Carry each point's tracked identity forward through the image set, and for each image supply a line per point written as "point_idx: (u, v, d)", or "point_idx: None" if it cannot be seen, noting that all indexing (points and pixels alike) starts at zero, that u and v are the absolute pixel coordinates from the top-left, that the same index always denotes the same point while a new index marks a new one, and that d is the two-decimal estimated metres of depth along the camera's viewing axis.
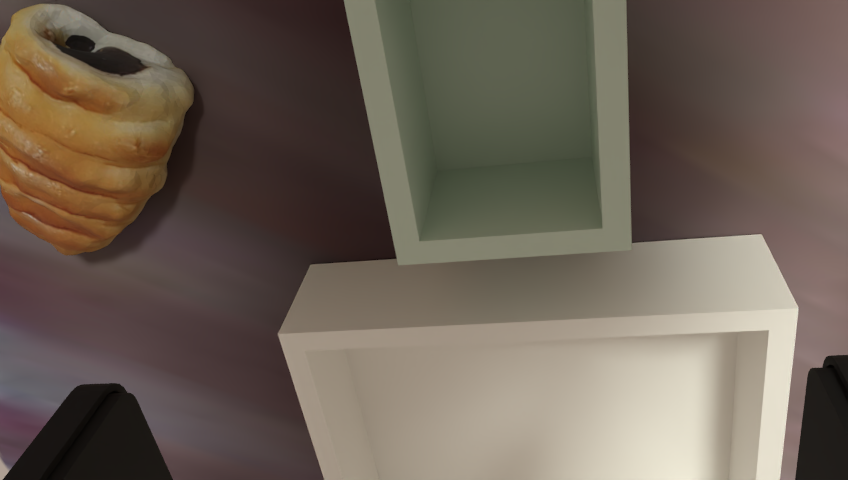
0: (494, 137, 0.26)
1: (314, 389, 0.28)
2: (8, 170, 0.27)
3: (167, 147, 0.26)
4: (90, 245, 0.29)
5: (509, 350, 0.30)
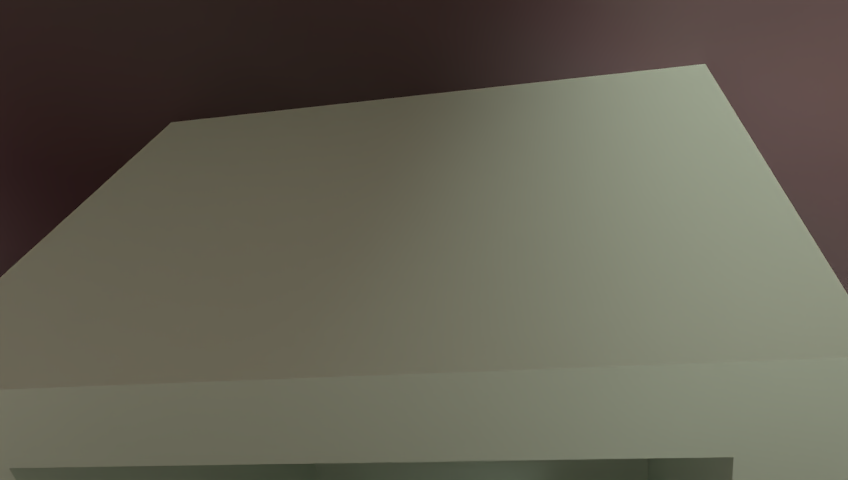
0: None
1: None
2: None
3: None
4: None
5: None
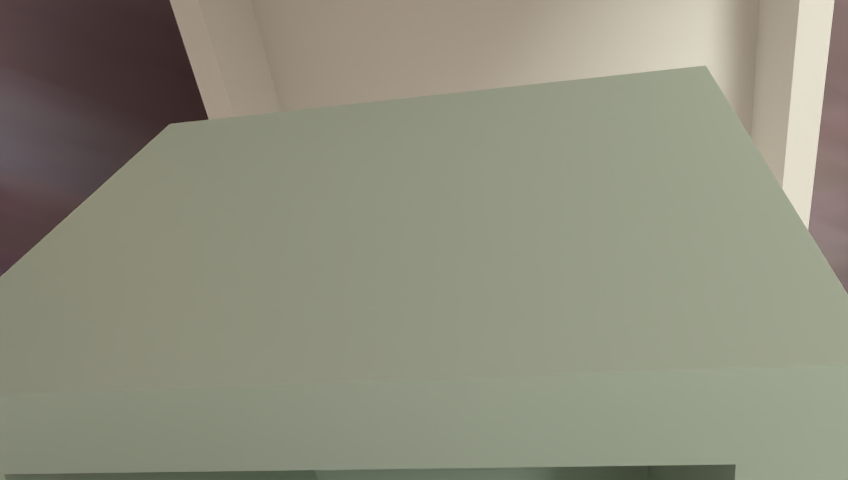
0: None
1: (198, 8, 0.21)
2: None
3: None
4: None
5: None
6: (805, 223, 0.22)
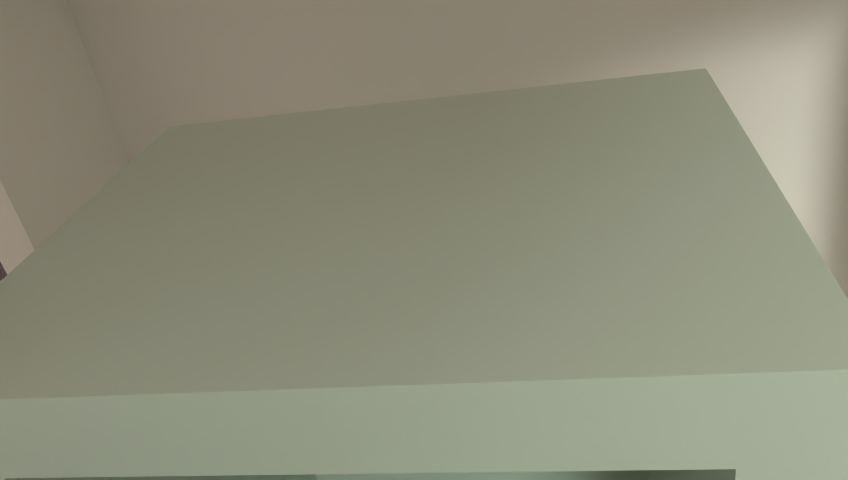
0: None
1: None
2: None
3: None
4: None
5: (416, 56, 0.15)
6: None
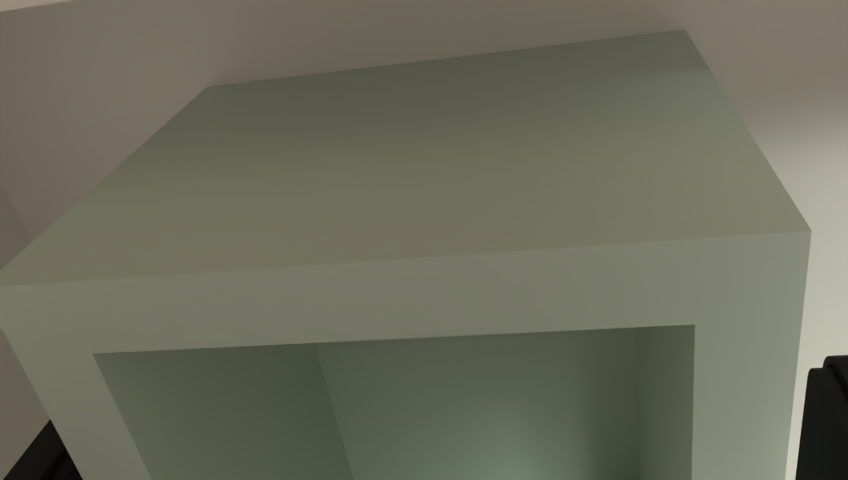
0: (457, 449, 0.14)
1: None
2: None
3: None
4: None
5: None
6: None
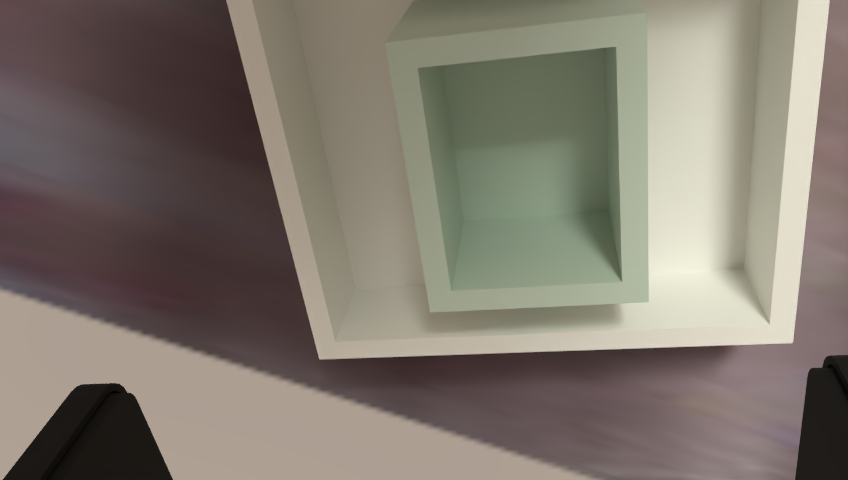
0: (518, 191, 0.28)
1: (258, 34, 0.23)
2: None
3: None
4: None
5: None
6: (801, 238, 0.24)
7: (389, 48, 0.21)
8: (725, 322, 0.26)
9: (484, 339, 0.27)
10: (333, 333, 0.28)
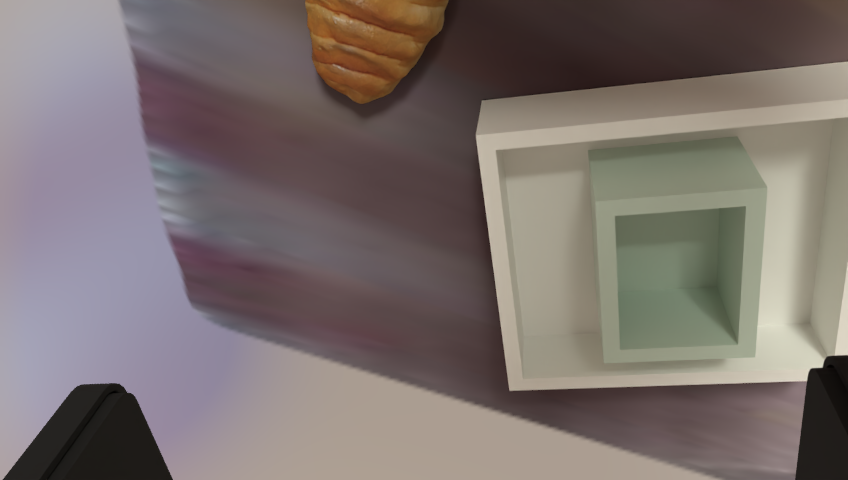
0: (652, 273, 0.40)
1: (498, 186, 0.35)
2: (326, 26, 0.34)
3: None
4: (383, 88, 0.36)
5: None
6: None
7: (597, 204, 0.33)
8: (801, 365, 0.38)
9: (631, 377, 0.39)
10: (522, 373, 0.40)
